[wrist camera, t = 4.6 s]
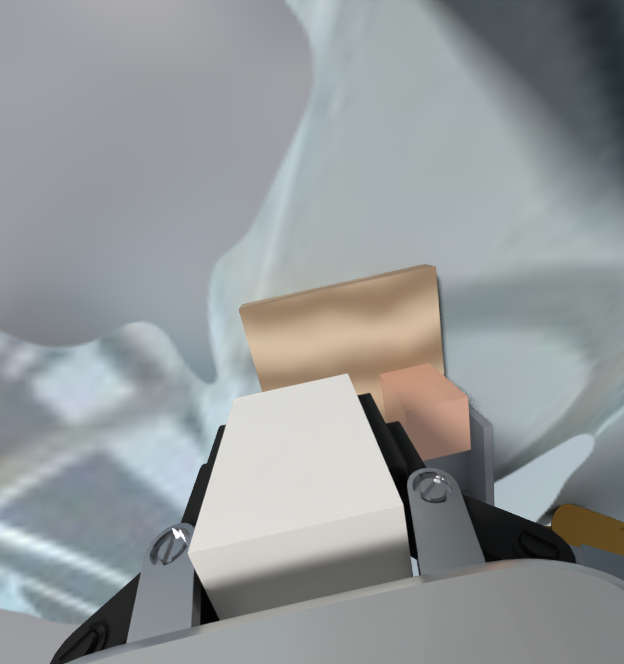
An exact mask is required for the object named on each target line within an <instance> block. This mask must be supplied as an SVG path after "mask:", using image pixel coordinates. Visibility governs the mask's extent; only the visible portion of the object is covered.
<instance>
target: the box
mask: <svg viewBox="0 0 624 664" xmlns="http://www.w3.org/2000/svg"><path fill="white" fill-rule="evenodd" d="M468 405H469V404H468ZM469 424H470V443H471V450H468V451H463V452H459V453H455V454H450V455H446V456H442V457H438V458H433V459H429V460H425V461H423V462H424V464H425V466H426V468H436V469H439V470H442V471H444V472H446V473H448V474H450V475H451V476H452V477H453V478H454V479H455V480H456V482H457V484H458V486H459V488H460V491H461V494H464V495H466V496H469V497H472V498H474V499H477V500H479V501H482V502H484V503H487V504H489V505H492V506H494V474H493V436H492V425H491V424H490V423H489V422H488V421H487V420H486V419H485V418H484V417H483V416H482V415H480V414H479V413H478V412H477V411H476V410H475V409H474V408H473V407H472V406H471V405H469Z"/></svg>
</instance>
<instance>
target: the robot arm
mask: <svg viewBox="0 0 624 664" xmlns="http://www.w3.org/2000/svg"><path fill="white" fill-rule="evenodd" d="M357 396H358V399H359V401H360V403H361V406H362V408H363V411H364V413H365V415H366V418H367V420H368V422H369V425H370V427H371V429H372V432H373V434H374V437H375V439H376V441H377V444H378V446H379V448H380V451H381V453H382V456H383V458H384V460H385V463H386V465H387V467H388V470H389V472H390V474H391V477H392V479H393V482H394V484H395V486H396V489H397V491H398V493H399V496H400V498H401V501H402V503H403V506H404V513H405V521H406V528H407V535H408V543H409V550H410V556H411V557H413V558H415V559H416V560H417V566H418V572H419V576H415V577H411V578H406V579H402V580H397V581H393V582H388V583H384V584H379V585H375V586H370V587H365V588H361V589H356V590H352V591H347V592H343V593H339V594H334V595H330V596H325V597H321V598H317V599H312V600H308V601H303V602H299V603H295V604H290V605H286V606H282V607H277V608H273V609H268V610H264V611H260V612H255V613H251V614H247V615H242V616H238V617H234V618H230V619H225V620H221V621H220V620H219V617H218V615H217V613H216V611H215V609H214V607H213V605H212V603H211V601H210V599H209V597H208V595H207V593H206V591H205V589H204V587H203V585H202V582H201V580H200V578H199V576H198V574H197V572H196V570H195V568H194V566H193V564H192V562H191V560H190V558H189V556H188V554H187V553H188V550H189V547H190V543H191V540H192V537H193V533H194V530H195V527H196V523H197V520H198V517H199V513H200V510H201V507H202V504H203V500H204V497H205V494H206V490H207V487H208V484H209V480H210V477H211V474H212V470H213V467H214V464H215V460H216V457H217V454H218V450H219V447H220V444H221V440H222V437H223V434H224V430H225V427H226V425H222V426H220V427H219V429H218V432H217V435H216V438H215V441H214V444H213V447H212V450H211V453H210V456H209V459H208V462H207V463H206V464H203V465H202V466H201V468H200V470H199V473H198V476H197V479H196V482H195V484H194V487H193V490H192V493H191V496H190V498H189V501H188V504H187V507H186V510H185V513H184V515H183V518H182V521H181V523H179V524H175V525H172V526H170V527H168V528H167V529H165V530H164V531H162V532H161V533H160V534H159V535H158V536H157V537H156V538H155V539H154V540H153V541H152V542H151V544H150V545H149V547H148V548H147V551H146V553H145V556H144V561H143V565H142V570H141V572H140V573H139V574H138V575H137V576H136V577H135V578H134V579H132V580H131V581H130V582H129V583H128V584H127V585H126V586H125V587H123V588H122V589H121V590H120V591H119V592H118V593H117V594H116V595H115V596H113V597H112V598H111V599H110V600H109V601H108V602H107V603H106V604H104V605H103V606H102V607H101V608H100V609H99V610H98V611H97V612H96V613H94V614H93V615H92V616H91V617H90V618H89V619H88V620H87V621H85V622H84V623H83V624H82V625H81V626H80V627H79V628H78V629H77V630H76V631H74V633H72V634H71V635H70V636H69V637H68V638H67V639H66V640H65V641H64V643H63V644H62V645H61V647H60V648H59V649H58V651H57V652H56V653H55V655H54V657H53V659H52V661H51V663H50V664H624V556H622V555H619V554H615V553H612V552H609V551H605V550H602V549H598V548H595V547H592V546H588V545H585V544H581V543H580V548H579V547H575V546H572V545H569V544H567V543H566V541H565V540H564V539H563V538H562V537H560V536H559V535H558V534H557V533H555V532H554V531H553V530H551V529H549V528H547V527H545V526H543V525H540V524H538V523H535V522H533V521H530V520H527V519H525V518H522V517H520V516H517V515H515V514H512V513H510V512H507V511H505V510H502V509H500V508H497V507H494V506H492V505H489V504H487V503H484V502H482V501H479V500H477V499H474V498H472V497H469V496H466V495H464V494H461V491H460V488H459V486H458V484H457V482H456V480H455V479H454V478H453V477H452V476H451V475H450V474H448V473H446V472H444V471H442V470H439V469H436V468H426V466H425V464H424V462H423V461H422V459H421V457H420V456H419V454H418V452H417V450H416V449H415V447H414V445H413V444H412V442H411V440H410V438H409V437H408V435H407V433H406V432H405V430H404V428H403V427H402V425H401V423H400V422H399V421H395V422H390V423H385V421H384V419H383V417H382V415H381V413H380V411H379V409H378V407H377V405H376V403H375V401H374V399H373V397H372V395H371V393H366V394H361V395H357Z"/></svg>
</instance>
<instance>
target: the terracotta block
mask: <svg viewBox="0 0 624 664" xmlns="http://www.w3.org/2000/svg"><path fill="white" fill-rule="evenodd" d="M380 381H381V387H382V394H383V400H384V407H385V414H386V419H387V420H388V422H389V423H390V422H395V421H399V422H400V423H401V425H402V427H403V428H404V430H405V432H406V433H407V435H408V437H409V438H410V440H411V442H412V444H413V445H414V447H415V449H416V450H417V452H418V454H419V456H420V457H421V459H422V461H425V460H429V459H433V458H438V457H442V456H446V455H450V454H455V453H459V452H463V451H468V450H471V443H470V424H469V405H468V396H466V395H465V394H464V393H463V392H462V391H461V390H460V389H458V388H457V387H456V386H455V385H454V384H453V383H452V382H450V381H449V380H448V379H447V378H446V377H445V376H444V375H442V374H441V373H440V372H439V371H438V370H437V369H436V368H434V367H433V366H432V365H431V364H430V363H428V364H423V365H419V366H414V367H410V368H406V369H401V370H397V371H392V372H388V373H383V374H380Z"/></svg>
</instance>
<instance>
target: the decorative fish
mask: <svg viewBox="0 0 624 664" xmlns="http://www.w3.org/2000/svg"><path fill="white" fill-rule="evenodd" d="M545 527H547V528H549V529H551V530H553V531H554V532H555V533H557V534H558V535H559V536H560V537H562V538H563V539H564V540H565V541H566V543H567V544H569V545H572V546H575V547H579V548H580V543H581V544H585V545H588V546H592V547H595V548H598V549H602V550H605V551H609V552H612V553H615V554H619V555H622V556H624V523H623V522H621V521H619V520H616V519H614V518H611V517H608V516H605V515H603V514H600V513H597V512H594V511H591V510H588V509H585V508H582V507H579V506H575V505H571V504H564V505H561V506H560V507H559V508H558V509H557V510H556V512H555V513H554V516H553V518H552V522H551V526H545Z"/></svg>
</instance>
